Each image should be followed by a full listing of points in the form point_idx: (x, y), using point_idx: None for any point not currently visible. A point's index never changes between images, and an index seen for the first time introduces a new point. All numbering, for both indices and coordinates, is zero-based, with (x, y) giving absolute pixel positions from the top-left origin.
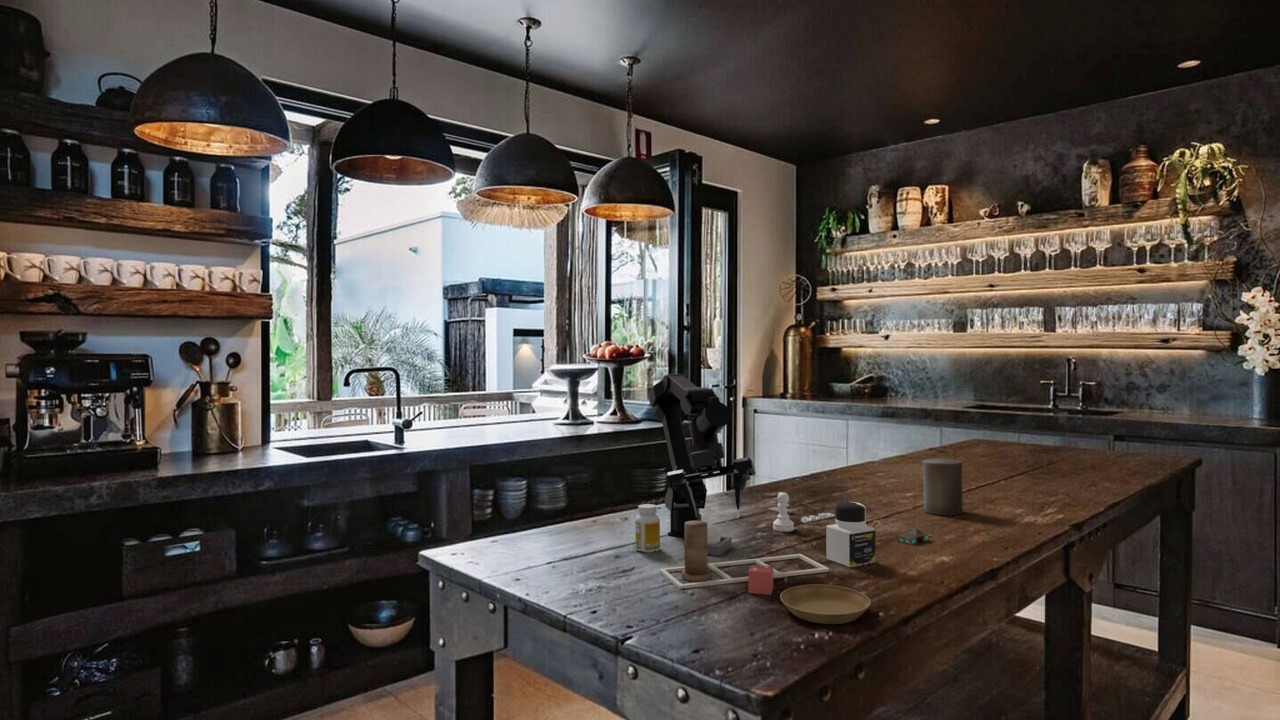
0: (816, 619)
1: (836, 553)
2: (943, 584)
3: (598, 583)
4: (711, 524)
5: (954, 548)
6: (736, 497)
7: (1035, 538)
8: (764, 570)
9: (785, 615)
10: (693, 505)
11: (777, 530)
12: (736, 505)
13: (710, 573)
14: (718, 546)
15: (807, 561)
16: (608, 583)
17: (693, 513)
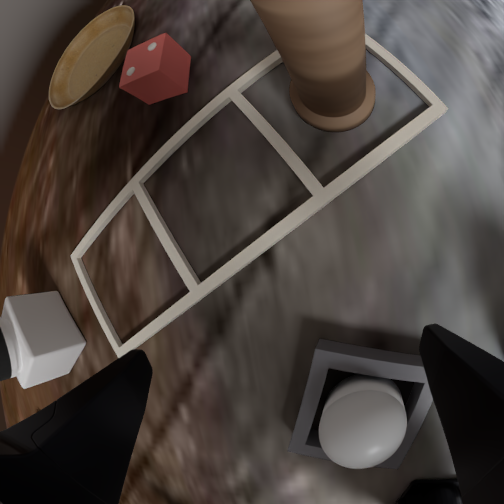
0: (110, 20)
1: (59, 320)
2: (7, 239)
3: (500, 29)
4: (348, 451)
5: (20, 392)
6: (97, 386)
7: (6, 415)
8: (136, 54)
9: (141, 20)
10: (461, 363)
11: None
12: (132, 359)
13: (290, 95)
14: (317, 349)
15: (104, 312)
16: (486, 29)
17: (444, 330)
